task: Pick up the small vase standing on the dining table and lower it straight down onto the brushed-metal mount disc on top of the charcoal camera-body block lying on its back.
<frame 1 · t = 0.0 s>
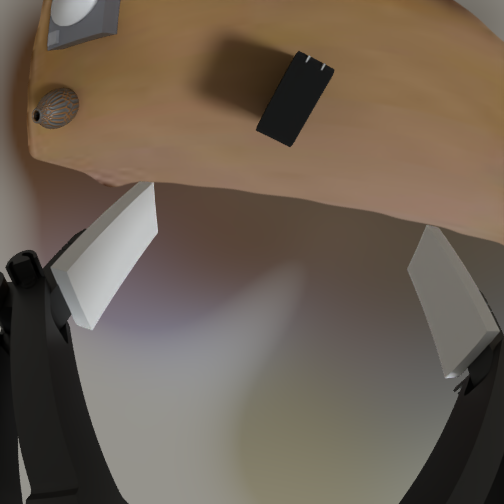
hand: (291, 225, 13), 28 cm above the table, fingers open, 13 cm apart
camera body: (91, 0, 24), on the table
electronic device: (294, 94, 33), on the table
vase: (71, 103, 36), on the table
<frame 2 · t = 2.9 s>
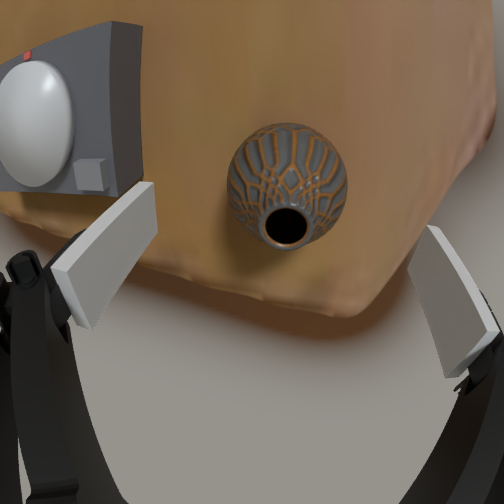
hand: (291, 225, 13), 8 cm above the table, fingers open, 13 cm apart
camera body: (63, 110, 17), on the table
vase: (287, 162, 19), on the table
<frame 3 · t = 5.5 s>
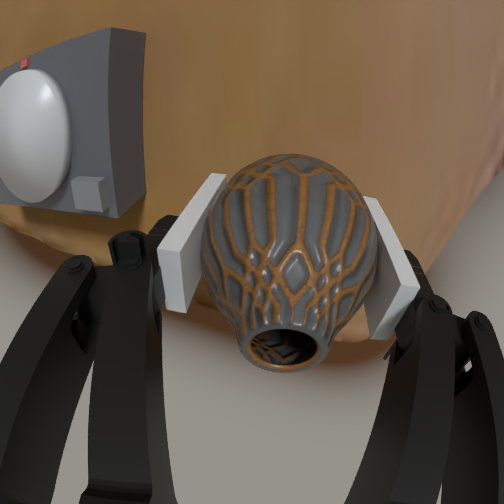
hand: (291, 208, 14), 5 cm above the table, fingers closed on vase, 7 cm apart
camera body: (63, 121, 17), on the table
vase: (291, 202, 14), point 4 cm above the table, touching gripper
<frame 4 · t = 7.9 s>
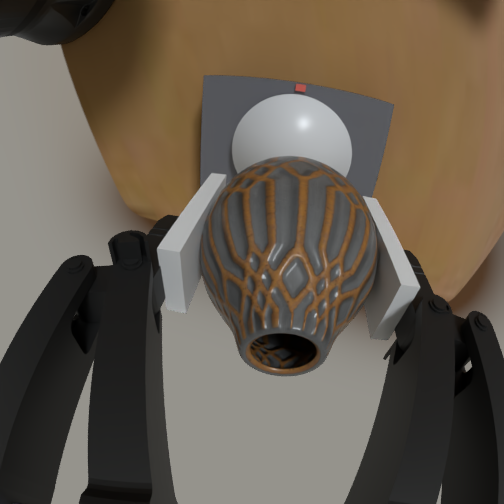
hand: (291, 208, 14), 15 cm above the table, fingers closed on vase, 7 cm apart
camera body: (292, 140, 26), on the table
vase: (291, 204, 14), point 15 cm above the table, touching gripper
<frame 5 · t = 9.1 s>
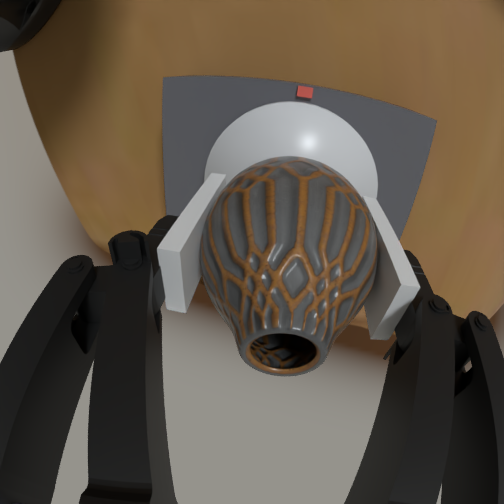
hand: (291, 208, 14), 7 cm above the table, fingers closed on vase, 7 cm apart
camera body: (291, 164, 20), on the table
vase: (291, 204, 14), point 7 cm above the table, touching gripper
when the fingers open (5 cm above the table, at t = 10.2 s): vase stays where it is, resting on camera body.
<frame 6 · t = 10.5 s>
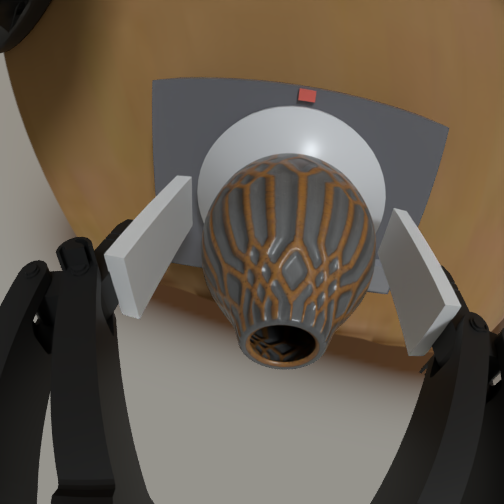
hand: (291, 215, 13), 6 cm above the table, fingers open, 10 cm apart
camera body: (292, 172, 18), on the table
vase: (291, 202, 14), point 5 cm above the table, touching camera body
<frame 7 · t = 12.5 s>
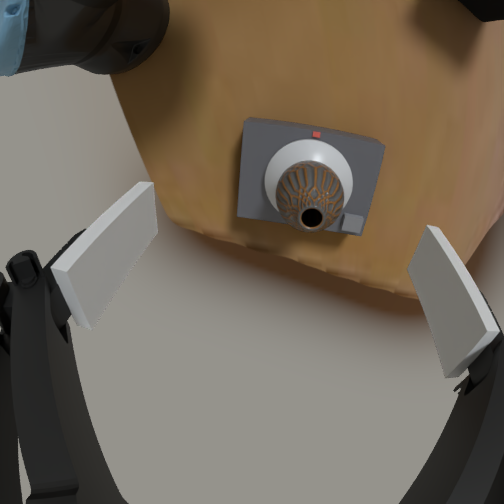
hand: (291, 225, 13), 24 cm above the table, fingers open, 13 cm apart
camera body: (307, 170, 35), on the table
vase: (308, 182, 31), point 5 cm above the table, touching camera body
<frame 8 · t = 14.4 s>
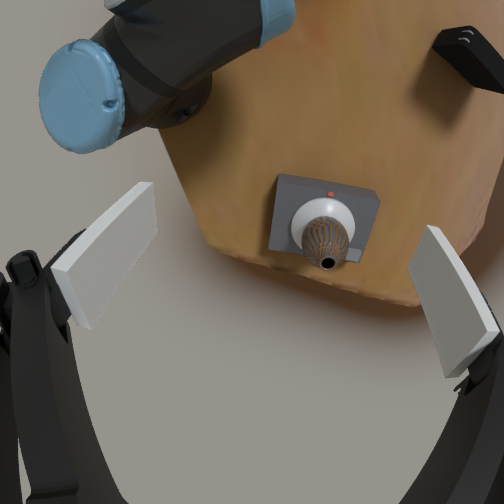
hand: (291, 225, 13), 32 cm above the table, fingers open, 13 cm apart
camera body: (321, 214, 47), on the table
electronic device: (457, 58, 26), on the table
vase: (323, 228, 43), point 5 cm above the table, touching camera body
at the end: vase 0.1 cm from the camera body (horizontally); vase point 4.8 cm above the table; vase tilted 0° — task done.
